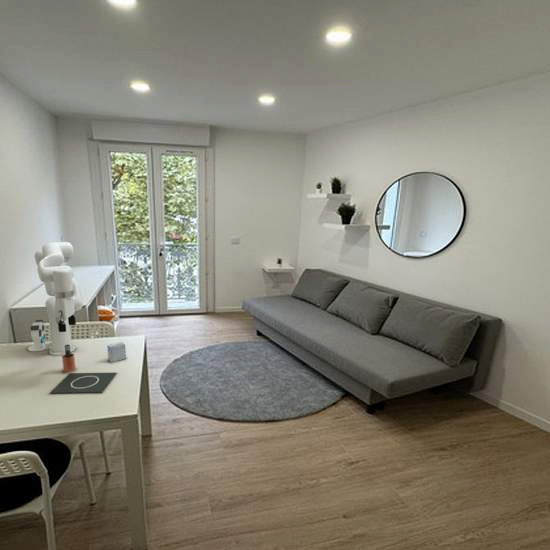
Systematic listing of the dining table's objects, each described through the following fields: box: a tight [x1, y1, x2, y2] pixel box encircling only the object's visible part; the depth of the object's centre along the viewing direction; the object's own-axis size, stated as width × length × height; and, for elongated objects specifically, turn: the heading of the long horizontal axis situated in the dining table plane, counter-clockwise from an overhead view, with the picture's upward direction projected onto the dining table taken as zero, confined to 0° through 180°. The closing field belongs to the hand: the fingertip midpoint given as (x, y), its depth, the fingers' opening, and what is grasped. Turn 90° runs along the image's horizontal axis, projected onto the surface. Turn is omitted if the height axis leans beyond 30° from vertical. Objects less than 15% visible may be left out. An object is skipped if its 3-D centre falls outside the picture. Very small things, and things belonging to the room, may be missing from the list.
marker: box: [64, 344, 72, 358], centre depth 175 cm, size 2×2×13 cm
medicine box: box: [106, 341, 127, 363], centre depth 189 cm, size 8×4×9 cm, turn 134°
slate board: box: [49, 372, 117, 395], centre depth 165 cm, size 22×18×1 cm
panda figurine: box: [27, 319, 51, 352], centre depth 201 cm, size 12×11×15 cm
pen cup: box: [61, 353, 76, 373], centre depth 176 cm, size 5×5×8 cm
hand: (67, 328), depth 173 cm, fingers open, 9 cm apart
